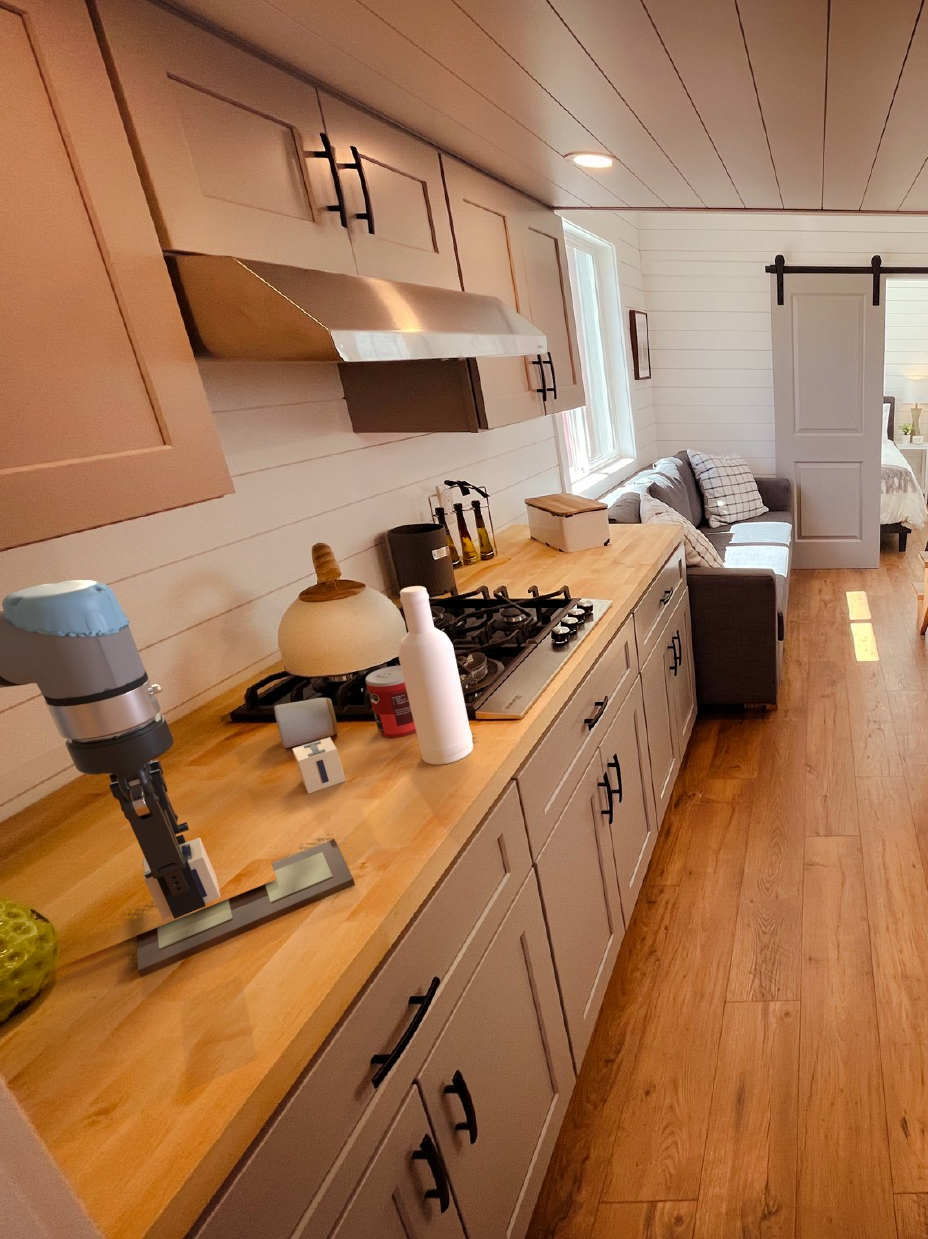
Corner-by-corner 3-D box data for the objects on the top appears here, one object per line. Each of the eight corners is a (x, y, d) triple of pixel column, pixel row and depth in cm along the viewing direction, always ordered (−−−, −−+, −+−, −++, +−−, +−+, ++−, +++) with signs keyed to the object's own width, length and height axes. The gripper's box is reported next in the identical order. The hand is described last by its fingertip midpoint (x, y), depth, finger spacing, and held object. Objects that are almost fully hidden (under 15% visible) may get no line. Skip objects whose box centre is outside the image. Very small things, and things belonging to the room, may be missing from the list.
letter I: (308, 794, 105) (297, 760, 103) (302, 780, 109) (291, 748, 107) (346, 781, 109) (336, 748, 107) (339, 768, 112) (329, 736, 110)
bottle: (425, 770, 112) (385, 600, 101) (419, 750, 118) (380, 587, 107) (478, 755, 116) (445, 591, 106) (469, 736, 122) (437, 578, 112)
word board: (141, 977, 74) (137, 970, 74) (137, 922, 81) (134, 915, 81) (355, 884, 87) (353, 878, 87) (336, 844, 95) (334, 837, 94)
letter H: (163, 921, 77) (143, 879, 74) (161, 898, 80) (142, 856, 78) (220, 898, 80) (203, 857, 78) (216, 876, 83) (199, 836, 81)
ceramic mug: (342, 739, 120) (332, 701, 118) (285, 755, 115) (272, 716, 113) (335, 718, 128) (325, 681, 125) (281, 732, 123) (269, 694, 120)
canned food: (389, 719, 128) (376, 666, 124) (435, 715, 129) (423, 663, 125) (370, 740, 121) (356, 684, 117) (419, 736, 122) (406, 681, 118)
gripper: (167, 744, 68) (238, 922, 76) (159, 686, 80) (221, 845, 88) (58, 774, 63) (147, 961, 71) (66, 708, 75) (141, 874, 83)
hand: (187, 897), depth 80 cm, fingers closed on letter H, 5 cm apart
